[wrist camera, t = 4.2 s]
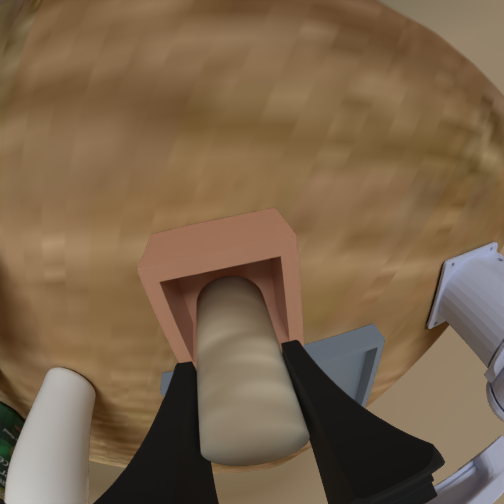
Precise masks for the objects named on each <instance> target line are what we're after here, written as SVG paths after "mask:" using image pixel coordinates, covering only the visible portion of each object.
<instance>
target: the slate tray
mask: <svg viewBox="0 0 504 504" xmlns="http://www.w3.org/2000/svg"><path fill="white" fill-rule="evenodd" d="M384 343H385V339H384V337H383V336H382V334H381V333H380V332H379V330H378V329H377V327H376V326H375V325H374V324H371V325H368V326H365V327H362V328H359V329H356V330H353V331H350V332H347V333H344V334H341V335H337V336H334V337H331V338H327V339H324V340H321V341H317V342H314V343H310V344H306V345H304V349H305V350H306V351H307V353H308V354H309V355H310V356H311V358H312V359H313V360H314V361H315V362H316V364H317V365H318V366H319V367H320V368H321V369H322V370H323V371H324V372H325V373H326V374H327V376H328V377H329V378H330V379H331V380H332V381H333V382H334V383H335V384H336V385H338V386H339V387H340V388H341V389H342V390H343V391H344V392H345V393H346V394H348V395H349V396H350V397H351V398H352V399H354V400H355V401H356V402H357V403H359V404H360V405H361V406H363V407H364V408H365V406H366V403H367V400H368V397H369V394H370V391H371V388H372V385H373V382H374V379H375V375H376V372H377V369H378V365H379V362H380V358H381V354H382V350H383V347H384ZM196 371H197V370H196ZM172 375H173V372H166V373H162V381H161V394H162V396H163V397H165V394H166V392H167V389H168V386H169V384H170V381H171V378H172Z"/></svg>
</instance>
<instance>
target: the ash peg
mask: <svg viewBox="0 0 504 504" xmlns="http://www.w3.org/2000/svg"><path fill="white" fill-rule="evenodd" d="M196 354H197V392H198V415H199V432H200V447H201V454H202V456H203V457H204V458H205V459H207V460H209V461H211V462H214V463H217V464H222V465H229V466H248V465H257V464H263V463H268V462H272V461H275V460H279V459H282V458H284V457H287V456H289V455H291V454H293V453H295V452H297V451H298V450H300V449H301V448H302V447H304V446H305V445H306V444H307V442H308V441H309V438H310V436H309V432H308V429H307V426H306V423H305V420H304V417H303V414H302V411H301V408H300V405H299V402H298V399H297V396H296V393H295V390H294V387H293V384H292V381H291V378H290V376H289V373H288V370H287V367H286V364H285V361H284V358H283V355H282V351H281V348H280V345H279V342H278V339H277V336H276V333H275V330H274V327H273V324H272V321H271V318H270V315H269V312H268V309H267V306H266V303H265V300H264V297H263V294H262V291H261V290H260V288H259V287H258V286H257V285H256V284H255V283H254V282H252V281H251V280H249V279H247V278H244V277H240V276H224V277H220V278H217V279H215V280H213V281H211V282H209V283H208V284H207V285H205V286H204V287H203V289H202V290H201V291H200V293H199V295H198V297H197V303H196Z"/></svg>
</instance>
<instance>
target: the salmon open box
mask: <svg viewBox="0 0 504 504" xmlns="http://www.w3.org/2000/svg"><path fill="white" fill-rule="evenodd" d="M137 271H138V274H139V276H140V279H141V281H142V284H143V286H144V288H145V291H146V293H147V296H148V298H149V300H150V303H151V305H152V307H153V309H154V312H155V314H156V316H157V318H158V321H159V323H160V325H161V327H162V329H163V331H164V333H165V335H166V337H167V340H168V342H169V344H170V346H171V348H172V350H173V352H174V354H175V356H176V358H177V360H178V361H179V363H183V362H189V361H192V362H193V364H194V366H195V369H196V370H197V354H196V303H197V297H198V295H199V293H200V291H201V290H202V289H203V287H204V286H205V285H207V284H208V283H209V282H211V281H213V280H215V279H217V278H220V277H224V276H240V277H244V278H247V279H249V280H251V281H252V282H254V283H255V284H256V285H257V286H258V287H259V288H260V290H261V291H262V294H263V297H264V300H265V303H266V306H267V309H268V312H269V315H270V318H271V321H272V324H273V327H274V330H275V333H276V336H277V339H278V342H279V345H280V348H281V351H282V347H281V343H284V342H288V341H292V340H298V341H300V343H301V344H302V346H303V347H304V338H303V317H302V300H301V284H300V270H299V257H298V245H297V236H296V234H295V233H294V232H293V231H292V229H291V228H290V227H289V225H288V224H287V223H286V221H285V220H284V219H283V217H282V216H281V215H280V214H279V212H278V211H277V210H276V208H272V209H266V210H261V211H256V212H251V213H246V214H241V215H236V216H231V217H227V218H222V219H217V220H212V221H208V222H203V223H199V224H194V225H190V226H185V227H181V228H176V229H172V230H168V231H163V232H159V233H155V234H151V237H150V239H149V242H148V244H147V246H146V249H145V251H144V254H143V256H142V259H141V261H140V264H139V266H138V269H137Z"/></svg>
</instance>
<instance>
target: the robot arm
mask: <svg viewBox="0 0 504 504" xmlns="http://www.w3.org/2000/svg"><path fill="white" fill-rule="evenodd" d="M497 246H498V244H497V243H496V242H493V243H490V244H488V245H485V246H483V247H480V248H478V249H475V250H473V251H470V252H468V253H465V254H462V255H460V256H457V257H454V258H452V259H449V260H447V261H445V263H444V264H443V268H442V273H441V277H440V281H439V285H438V289H437V293H436V297H435V300H434V304H433V307H432V311H431V314H430V317H429V320H428V323H427V327H428V328H429V329H431V328H433V327H435V326H437V325H439V324H441V323H443V322H445V321H447V322H448V323H449V324H450V325H451V327H452V328H453V329H454V330H455V331H456V332H457V333H458V334H459V335H460V336H461V338H462V339H463V340H464V341H465V342H466V343H467V344H468V345H469V347H470V348H471V349H472V350H473V351H474V352H475V354H476V355H477V356H478V357H479V358H480V360H481V361H482V362H483V363H484V364H485V366H486V367H487V368H488V370H487V371H486V373H485V374H484V376H485V377H486V378H487V380H488V382H487V385H486V393H487V399H488V403H489V405H490V407H491V409H492V411H493V412H494V414H495V415H496V416H497V417H498V418H499V419H500V420H502V421H503V422H504V257H503V256H502V255H500V254H499V253H498V252H496V251H497ZM281 347H282V355H283V358H284V361H285V364H286V367H287V370H288V373H289V376H290V378H291V381H292V384H293V387H294V390H295V393H296V396H297V399H298V402H299V405H300V408H301V411H302V414H303V417H304V420H305V423H306V426H307V429H308V432H309V436H310V438H309V440H310V443H311V446H312V449H313V452H314V455H315V459H316V462H317V465H318V469H319V472H320V476H321V479H322V483H323V486H324V490H325V494H326V497H327V501H328V504H493V503H494V502H495V501H496V500H497V499H498V498H499V497H500V496H501V495H502V493H503V492H504V437H503V436H502V435H501V436H499V437H498V438H497V439H496V440H495V441H494V442H492V443H491V444H490V445H489V446H488V447H487V448H485V449H484V450H483V451H482V452H480V453H479V454H478V455H476V456H475V457H474V458H473V459H471V460H470V461H469V462H467V463H466V464H465V465H463V466H462V467H461V468H459V469H458V470H457V471H456V472H455V473H454V474H452V475H451V476H449V477H448V478H446V479H445V480H443V481H442V482H440V483H439V484H437V485H436V486H433V484H432V482H433V481H434V479H433V477H432V475H431V474H432V473H433V472H435V471H436V470H438V469H439V468H440V467H442V466H443V465H444V463H445V461H444V459H443V457H442V456H441V454H440V453H439V451H438V450H437V449H436V448H435V446H434V445H433V444H431V443H429V442H426V441H423V440H421V439H418V438H416V437H414V436H412V435H409V434H407V433H405V432H403V431H401V430H399V429H397V428H395V427H394V426H392V425H390V424H389V423H387V422H385V421H384V420H382V419H380V418H379V417H377V416H375V415H374V414H372V413H371V412H369V411H368V410H367V409H365V408H364V407H363V406H361V405H360V404H359V403H357V402H356V401H355V400H354V399H352V398H351V397H350V396H349V395H348V394H346V393H345V392H344V391H343V390H342V389H341V388H340V387H339V386H338V385H336V384H335V383H334V382H333V381H332V380H331V379H330V378H329V377H328V376H327V374H326V373H325V372H324V371H323V370H322V369H321V368H320V367H319V366H318V365H317V364H316V362H315V361H314V360H313V359H312V358H311V356H310V355H309V354H308V353H307V351H306V350H305V349H304V347H303V346H302V344H301V343H300V341H298V340H292V341H288V342H284V343H281ZM93 504H219V503H218V498H217V494H216V489H215V484H214V478H213V473H212V467H211V461H209V460H207V459H205V458H204V457H203V456H202V454H201V447H200V432H199V415H198V392H197V371H196V369H195V366H194V364H193V362H192V361H189V362H183V363H177V364H176V366H175V369H174V372H173V375H172V378H171V381H170V384H169V386H168V389H167V392H166V394H165V397H164V399H163V401H162V404H161V406H160V409H159V411H158V413H157V415H156V417H155V420H154V422H153V424H152V426H151V428H150V430H149V432H148V434H147V436H146V437H145V439H144V441H143V443H142V444H141V446H140V448H139V449H138V451H137V452H136V454H135V455H134V457H133V458H132V460H131V461H130V463H129V464H128V466H127V467H126V468H125V470H124V471H123V472H122V474H121V475H120V476H119V477H118V478H117V480H116V481H115V482H114V483H113V485H111V487H110V488H109V489H108V490H107V491H106V492H105V493H104V494H103V495H102V496H101V497H100V498H99V499H97V500H96V501H95V502H94V503H93Z"/></svg>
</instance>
